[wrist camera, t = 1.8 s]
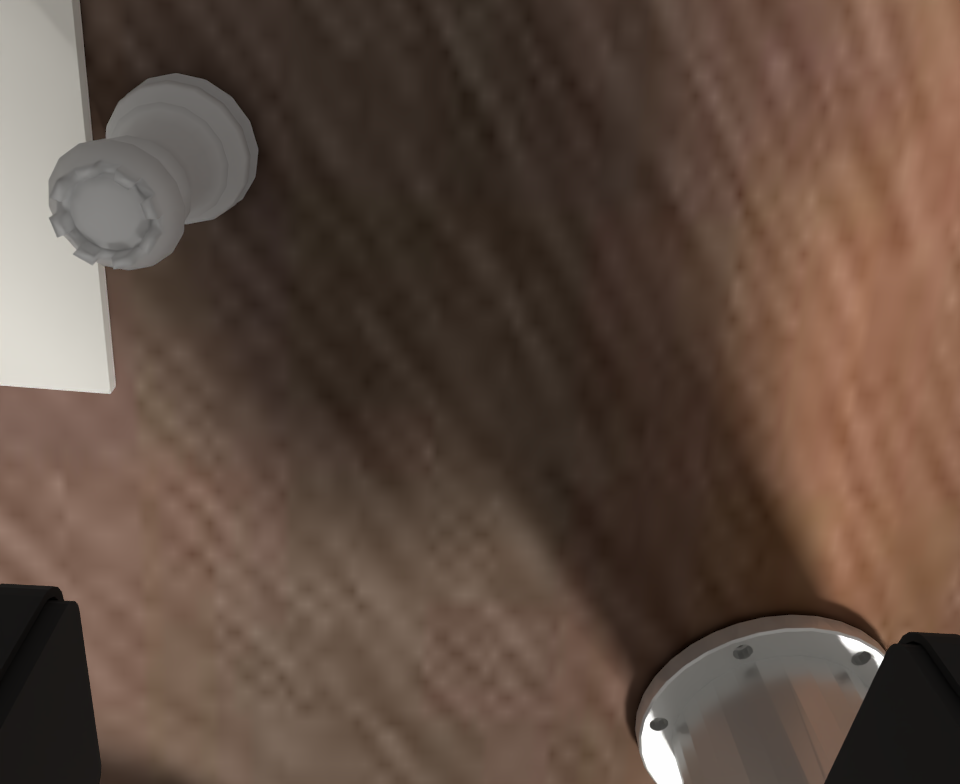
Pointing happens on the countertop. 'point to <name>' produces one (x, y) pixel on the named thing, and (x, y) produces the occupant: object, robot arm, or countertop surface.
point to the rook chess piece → (153, 172)
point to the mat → (45, 207)
